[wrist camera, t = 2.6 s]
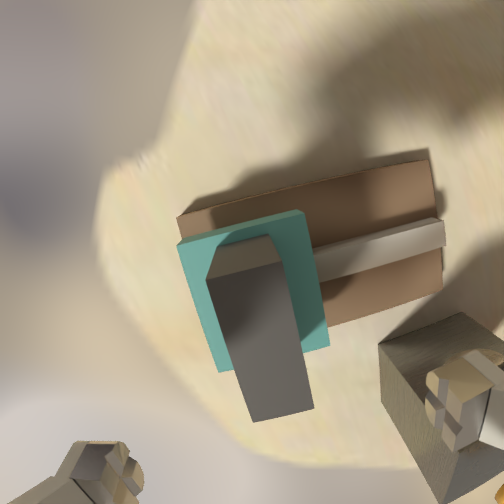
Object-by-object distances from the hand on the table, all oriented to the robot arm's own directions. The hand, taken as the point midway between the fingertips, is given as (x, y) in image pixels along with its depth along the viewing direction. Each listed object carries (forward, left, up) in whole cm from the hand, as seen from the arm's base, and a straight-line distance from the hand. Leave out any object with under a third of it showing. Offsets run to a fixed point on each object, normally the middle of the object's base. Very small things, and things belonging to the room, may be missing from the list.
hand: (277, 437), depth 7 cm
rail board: (0, +5, -14) cm, 15 cm away
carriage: (0, 0, -12) cm, 12 cm away
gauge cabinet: (+11, +12, -14) cm, 21 cm away
